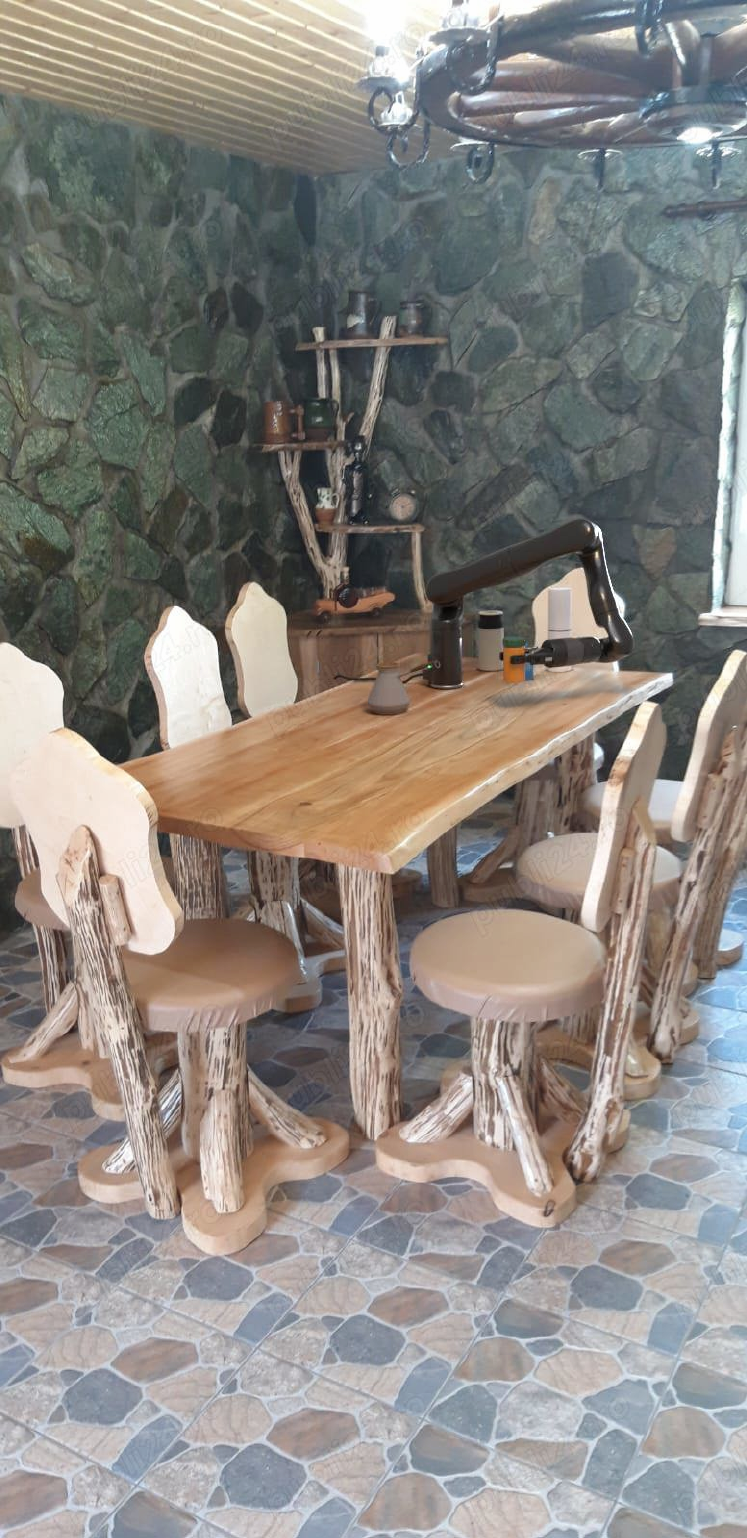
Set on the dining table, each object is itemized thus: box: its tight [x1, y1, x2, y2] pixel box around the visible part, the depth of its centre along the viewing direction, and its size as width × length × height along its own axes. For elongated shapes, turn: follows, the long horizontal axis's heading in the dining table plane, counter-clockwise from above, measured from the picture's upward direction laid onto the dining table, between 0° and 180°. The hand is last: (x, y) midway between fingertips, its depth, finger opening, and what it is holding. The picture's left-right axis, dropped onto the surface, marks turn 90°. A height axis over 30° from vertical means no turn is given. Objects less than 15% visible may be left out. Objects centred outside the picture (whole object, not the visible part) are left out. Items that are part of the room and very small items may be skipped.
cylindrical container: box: [547, 587, 573, 673], centre depth 363 cm, size 7×7×25 cm
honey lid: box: [502, 636, 526, 647], centre depth 307 cm, size 6×6×2 cm
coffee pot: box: [367, 660, 440, 716], centre depth 310 cm, size 21×12×15 cm, turn 57°
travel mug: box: [477, 610, 505, 672], centre depth 368 cm, size 8×8×18 cm
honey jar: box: [502, 646, 526, 683], centre depth 308 cm, size 6×6×11 cm
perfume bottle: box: [524, 637, 534, 681], centre depth 353 cm, size 6×6×12 cm
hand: (505, 658), depth 307 cm, fingers closed on honey jar, 5 cm apart
